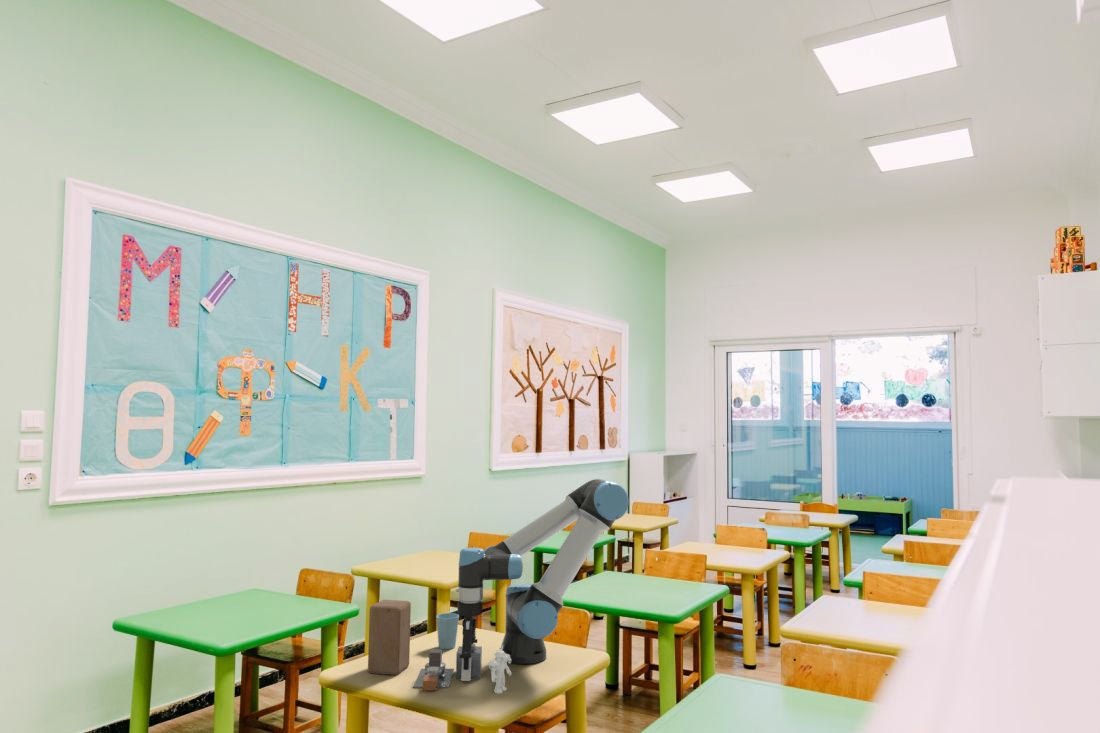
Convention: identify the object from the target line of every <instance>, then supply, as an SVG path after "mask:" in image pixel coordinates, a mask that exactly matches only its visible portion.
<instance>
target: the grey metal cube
mask: <svg viewBox="0 0 1100 733" xmlns="http://www.w3.org/2000/svg"><path fill="white" fill-rule="evenodd" d="M482 650H483V647H482V646H480V645H477V646H476V645H475V646H471V680H480V679H481V676H482V666H483V665H482V661H483V660H482V654H483V651H482ZM465 653H468V652H465ZM461 654H462V646H461V645H460V646H458V647H457V651H456V656H455V658H456V660H455V661H456V663H455V665H456V668H455V669H456V670H455V680H461V670H462V658H460V655H461Z"/></svg>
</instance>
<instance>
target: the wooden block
mask: <svg viewBox="0 0 1100 733" xmlns="http://www.w3.org/2000/svg"><path fill="white" fill-rule="evenodd" d="M411 604H412V603H411V602H410V601H408V600H396V599H395V600H394V599H382V600H380V601H378V602H376V603H374V604H372V605H371V606H370V607H369V617H368V618H369V619H368V620H369V622H368V623H369V624H368V654H367V657H368V659H367V671H368V673H370V674H378V675H389V674H390V675H389V676H397V675H399V674H400V673H401V672H403V671H404V670H405V669H407V668H408V667H409V665H410V651H411V649H410V646H411V645H410V643H411V610H412V607H411Z"/></svg>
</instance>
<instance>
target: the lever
mask: <svg viewBox="0 0 1100 733" xmlns="http://www.w3.org/2000/svg"><path fill="white" fill-rule="evenodd" d="M428 654H429V655H428V662H427V663H426V664H424V668H421V669H420V671H419V673H418V675H417V677H416V680H415V681H414V683H413V686H412V688H413V689H422V691H436V689H448V688H449V686H450V683H451V680H452V678H453V674H454V671H455V668H446V663H445V662H443V649H441V648H438V649H436V648H433V649H430V650H429V651H428Z"/></svg>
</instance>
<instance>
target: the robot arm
mask: <svg viewBox="0 0 1100 733" xmlns="http://www.w3.org/2000/svg"><path fill="white" fill-rule="evenodd" d="M629 504H630V503H629V495H628V493H627V491H626V489H625V488H624V487H623V486H622V485H620V484H618V483H616V482H614V481H612V480H604V479H599V478H595V479H592V480H589V481H587V482H585V483H583V484H582V485H581V486H579V487H578V488H576V489H575V490H572V491H571V492H570V493H568V495H566V496H565V500H564V501H562V502H560V503H559V504H557V505H556V506H554V507H553V508H551V509H549V510H548V511H547V512H545V513H544V514H542V515H541V516H538V517H537V518H536V519H534V520H533V521H532V522H530V523H528V524H527V525H525V526H524V527H522V528H521V529H519V530H518V531H516V532H514V533H513V534H511V535H510V536H508V537H507V538H505V539H503V540H502V541H501V542H498V543H497V544H496V545H491V546H488V547H486V548H485V549H483V548H480V547H465V548H462V549H461V550H460V552H459V558H458V584H457V585H458V588H456V591H455V592H456V593H457V599H458V601H457V610H456V611H457V614H458V615H459V616H464V618H463V620H462V642H461V644H462V654H461V655H460V658H462V670H461V679H460V680H461V681H463V682H465V681H466V682H468V681H469V682H470V681H471V680H472V679H471V646H476V644H477V643H478V639H477V636H476V629H477V618H476V617H477V616H481V614H483V601H482V600H483V599H484V581H496V580H498V581H499V580H504V581H505V580H509V581H512V580H517V579H518V580H519V579H520V578H521V577H522V575H523V570H524V568H523V567H524V565H523V564H524V563H523V558H522V557H523V556H524V555H526V554H528V553H529V552H530V551H532V550H534V549H536V548H537V547H538V546H539V545H541V544H543V543H544V542H545V541H547V540H549V539H550V538H551V537H554V536H555V535H556V534H558V533H559V532H562V530H564V529H565V528H567V527H568V526H570V525H571V524H573V523H574V526H573V527H572V529H571V530H570V532H569V534H568V535H567V537H566V538H565V540H564V541H563V543H562V545H561V546H560V548H559V550H558V551H557V552H556V554H555V556H554V557H553V559H552V560H551V562H550V564H549V565H548V567H547V569H546V570H545V572H544V574H543V575H542V577H541V578H540V580H539V581H538V582H534V583H529V584H527V583H525V584H523V583H522V584H521V583H520V584H512V585H508V586H507V587H506V591H505V592H506V593H505V633H504V637H503V639H502V643H501V646H500V648H501V647H502V646H503V649H502V650H503V651H504V653H506V654H510V658H511V660H512V661H510V662H511V663H510V664H516V665H529V664H537V663H540V662H542V661H544V660H546V659H547V648H546V645H545V642H544V638H546V637H549V636H550V635H551V634H552V633H553V632H554V630H556V627H557V625H558V620H559V619H558V617H559V616H558V614H559V613H560V612H561V609H562V608H563V606H564V600H563V597H564V595H565V594H566V592H567V590H568V589H569V587H570V586H571V585H572V584H571V583H572V582H573V581H574V579H575V577H576V576H577V574H578V572H579V570H580V569H581V567H582V566H583V564H584V563H585V561H586V559H587V558H588V556H589V555H590V553H591V551H592V550H593V547H594V546H595V544H596V543H597V541H598V539H599V538H600V537H601V535H602V533H603V532H605V531H606V532H607V531H609V530H610V529H611V528H612V526H613V525H614V523H615V521H617V520H620V519H621V518H622V517H624V516H625V514H626V512H627V511H628V508H629ZM465 652H468V653H465ZM507 663H509V661H507Z"/></svg>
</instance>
